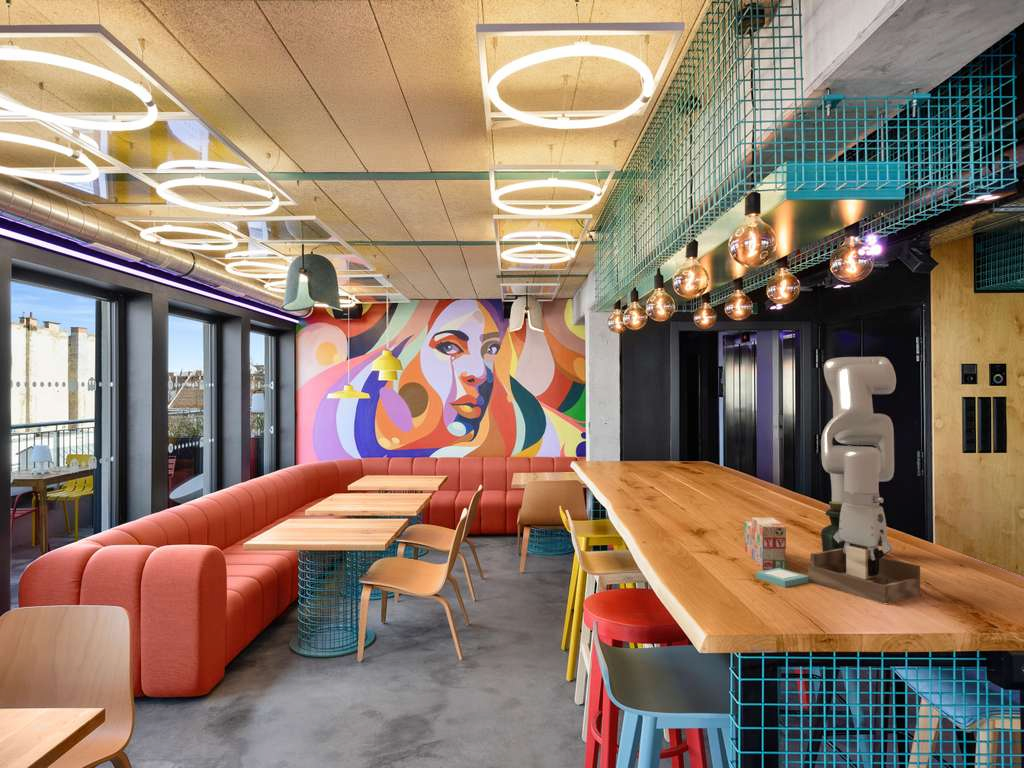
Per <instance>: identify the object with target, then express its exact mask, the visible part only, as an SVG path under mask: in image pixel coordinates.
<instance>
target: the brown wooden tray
mask: <svg viewBox="0 0 1024 768" xmlns="http://www.w3.org/2000/svg"><path fill="white" fill-rule="evenodd" d="M807 576H809V582H808V583H813V584H815V585H817V586H821V587H822V586H823V587H826V588H829V589H832V590H836V591H839V592H842V591H843V592H842V593H846V594H848V595H849V594H850V595H852V594H853V595H854V596H856V597H859V596H860V598H862V597H863V599H866V600H869V599H870V601H873V600H874V601H873V602H876V601H878V602H877V603H879V602H882V603H881V604H883V603H888V604H890V603H889V602H892V603H894V602H893V601H896V602H898V601H897V600H900V601H902V600H901V599H904V600H906V599H905V598H908V599H911V598H914V596H915V597H919V596H921V565H918V564H917V565H916V564H913V563H908V562H904V561H900V560H896V559H892V558H887V557H884V556H882V557H881V559H879V572H878V577H873V578H869V579H863V578H859V577H855V576H852V575H848V574H846V554H845V553H844V552H843V549H842V548H840V549H834V550H829V551H823V550H822V551H818V552H812V553H810V565H807ZM918 595H919V596H918ZM910 597H911V598H910Z"/></svg>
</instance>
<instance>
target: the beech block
mask: <svg viewBox="0 0 1024 768" xmlns="http://www.w3.org/2000/svg"><path fill="white" fill-rule="evenodd" d="M868 559H870V556H869V552H868V548H867V547H865V546H860V545H856V544H855V545H850V546H846V574H848V575H852V576H855V577H859V578H863V579H869V578H873V577H878V575H875V576H869V575H868Z"/></svg>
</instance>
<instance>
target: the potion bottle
mask: <svg viewBox="0 0 1024 768" xmlns="http://www.w3.org/2000/svg"><path fill="white" fill-rule="evenodd" d="M828 503H829V508H830V509H826V510H825V515H826V516H827V517H828V518H829V520H830V521H829V522H830V524H829V525H827V526H825V527H823V528H822V530H821V532H820V537H821V546H822V547H821V548H822V552H823V551H829V550H834V549H840V548H841V546H840V545H839V543H838V542H837V541H836V540H835V539H834V538H833V536H834V535H835V534H836V532H837V531H838V530H839V521H840V512H841V507H842V502H832V501H829V502H828Z"/></svg>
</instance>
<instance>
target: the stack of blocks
mask: <svg viewBox="0 0 1024 768" xmlns="http://www.w3.org/2000/svg"><path fill="white" fill-rule="evenodd" d="M743 524H744V528H743V529H744V530H743V531H744V541H745V542H744V551H745V552H746V553H747V555H748V554H749V555H750V556H751V557H752V558H753V559H754V560H755V561H756V562H757V563H756V562H755V561H754V560H753V559H752V558H751V557H750V556H749V555H748V556H749V557H750V558H751V559H752V560H753V561H754V562H755V563H756V564H757V565H758V567H761V568H762V569H761V568H760V569H761V571H765V570H770V569H775V568H781V569H785V570H787V560H786V555H787V553H786V549H787V536H786V535H787V527H786V526H785V525H784V524H783V523H782V522H780V521H778V520H777V519H776V518H774V517H756V516H755V517H751V521H744V523H743Z"/></svg>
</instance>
